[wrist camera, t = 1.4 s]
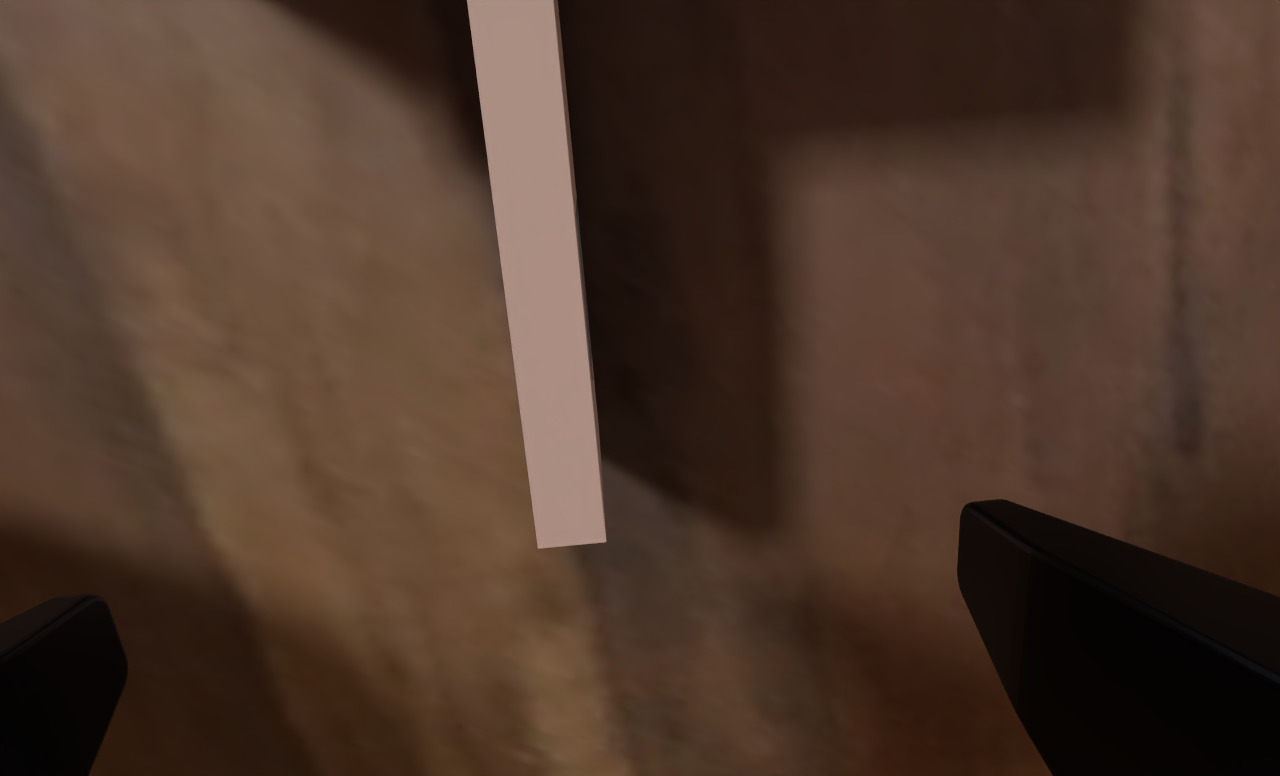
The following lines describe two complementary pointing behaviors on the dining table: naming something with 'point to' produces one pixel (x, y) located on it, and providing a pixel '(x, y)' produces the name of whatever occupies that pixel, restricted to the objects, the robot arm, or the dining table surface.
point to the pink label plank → (541, 261)
